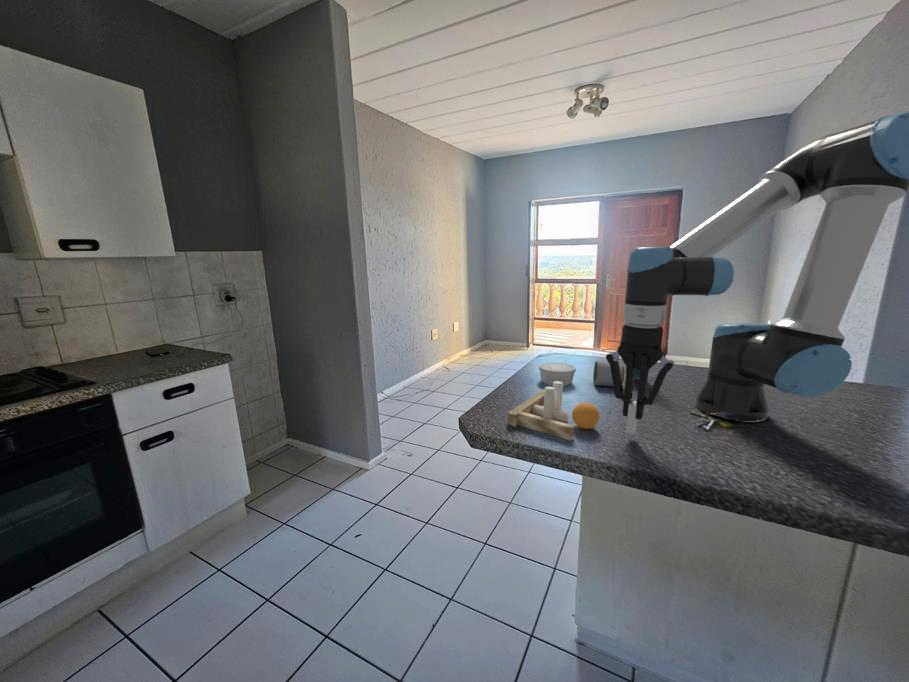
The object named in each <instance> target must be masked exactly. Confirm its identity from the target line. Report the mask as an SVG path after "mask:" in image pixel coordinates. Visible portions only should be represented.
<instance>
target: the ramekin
mask: <svg viewBox="0 0 909 682" xmlns="http://www.w3.org/2000/svg"><path fill="white" fill-rule="evenodd" d="M538 370H539V373H540V374H539V376H540V380H541V382H542V383H543V382H544V383H543V384H545V385H547V384H548V385H547V386H551V385H552V386H551V387H553V382H555V381H559V382H562V383H563V387H567V386H569V385H571V384H572V383H573V380H574V376H575V373H576V371H577V369H576V366H574V365H573V364H570V363H566V362H559V361H554V362H553V361H550V362H543V363H540V364H539V366H538Z"/></svg>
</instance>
